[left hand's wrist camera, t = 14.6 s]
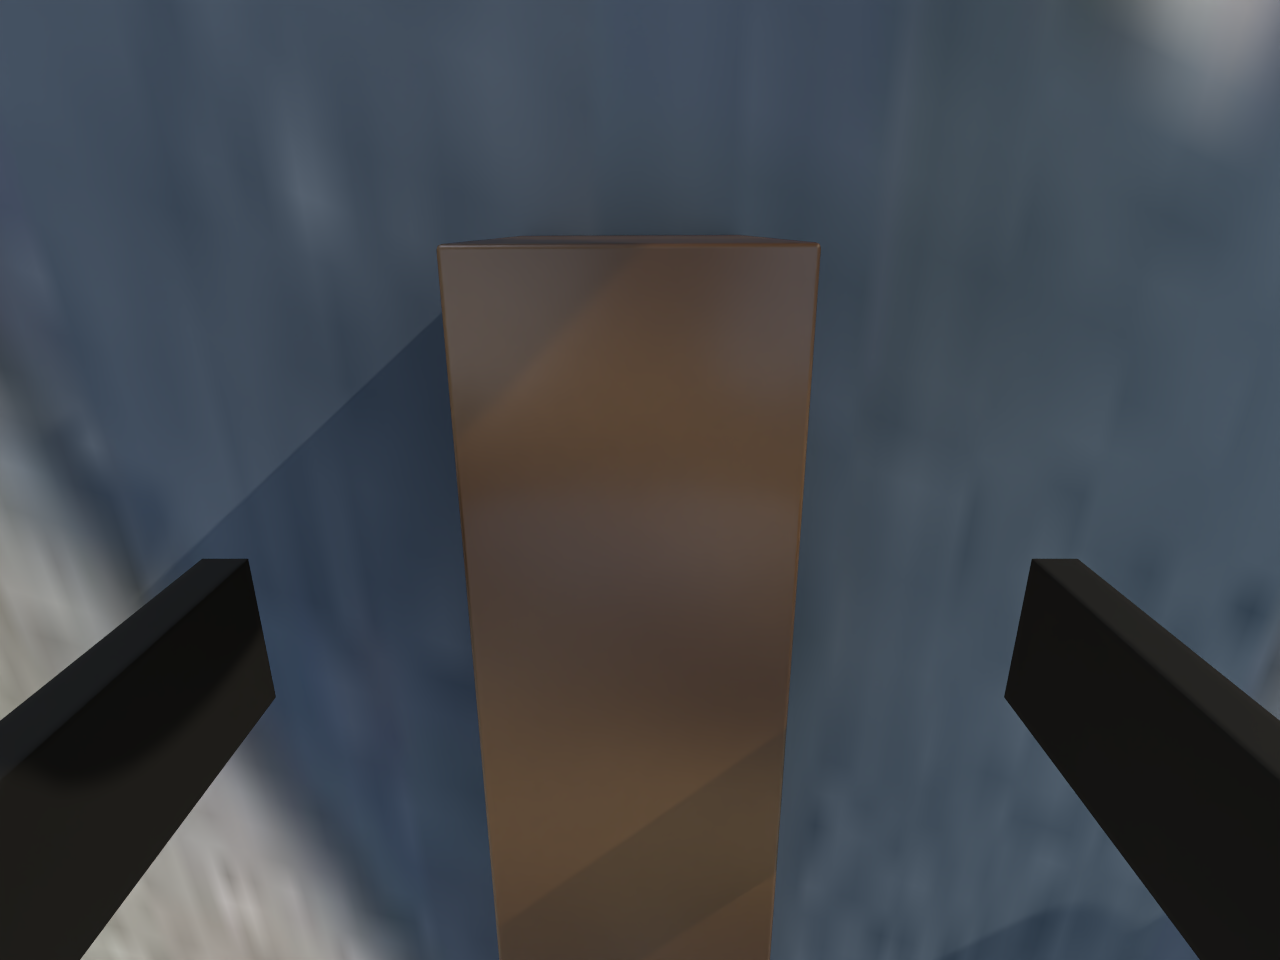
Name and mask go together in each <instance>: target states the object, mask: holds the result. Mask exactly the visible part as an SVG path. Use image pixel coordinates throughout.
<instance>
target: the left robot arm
mask: <svg viewBox="0 0 1280 960" xmlns="http://www.w3.org/2000/svg"><path fill="white" fill-rule="evenodd" d="M275 697H276V696H275V691H274V686H273V681H272V676H271V671H270V666H269V661H268V656H267V651H266V646H265V641H264V636H263V631H262V626H261V621H260V616H259V611H258V606H257V601H256V596H255V591H254V586H253V581H252V576H251V571H250V566H249V561H248V559H202V560H200V561H199V562H198V563H197V564H195V565H194V566H193V567H192V568H190V569H189V570H188V571H187V572H185V573H184V574H183V575H182V576H180V577H179V578H178V579H177V580H175V581H174V582H173V583H172V584H170V585H169V586H168V587H167V588H165V589H164V590H163V591H162V592H160V593H159V594H158V595H157V596H155V597H154V598H153V599H152V600H150V601H149V602H148V603H147V604H145V605H144V606H143V607H142V608H140V609H139V610H138V611H137V612H135V613H134V614H133V615H132V616H130V617H129V618H128V619H127V620H125V621H124V622H123V623H122V624H120V625H119V626H118V627H117V628H115V629H114V630H113V631H112V632H110V633H109V634H108V635H107V636H105V637H104V638H103V639H102V640H100V641H99V642H98V643H97V644H95V645H94V646H93V647H92V648H90V649H89V650H88V651H87V652H86V653H84V654H83V655H82V656H81V657H79V658H78V659H77V660H76V661H74V662H73V663H72V664H71V665H69V666H68V667H67V668H66V669H64V670H63V671H62V672H61V673H59V674H58V675H57V676H56V677H54V678H53V679H52V680H51V681H49V682H48V683H47V684H46V685H44V686H43V687H42V688H41V689H39V690H38V691H37V692H36V693H34V694H33V695H32V696H31V697H29V698H28V699H27V700H26V701H24V702H23V703H22V704H21V705H19V706H18V707H17V708H16V709H14V710H13V711H12V712H11V713H9V714H8V715H7V716H6V717H4V718H3V719H2V720H1V721H0V960H80V959H81V958H82V956H83V955H84V954H85V952H86V951H87V950H88V948H89V947H90V946H91V944H92V943H93V942H94V940H95V939H96V938H97V936H98V935H99V934H100V932H101V931H102V930H103V928H104V927H105V926H106V924H107V923H108V922H109V920H110V919H111V918H112V916H113V915H114V913H115V912H116V911H117V909H118V908H119V907H120V905H121V904H122V903H123V901H124V900H125V899H126V897H127V896H128V895H129V893H130V892H131V891H132V889H133V888H134V887H135V885H136V884H137V883H138V881H139V880H140V879H141V877H142V876H143V875H144V873H145V872H146V871H147V869H148V868H149V867H150V865H151V864H152V862H153V861H154V860H155V858H156V857H157V856H158V854H159V853H160V852H161V850H162V849H163V848H164V846H165V845H166V844H167V842H168V841H169V840H170V838H171V837H172V836H173V834H174V833H175V832H176V830H177V829H178V828H179V826H180V825H181V824H182V822H183V821H184V820H185V818H186V817H187V816H188V814H189V813H190V811H191V810H192V809H193V807H194V806H195V805H196V803H197V802H198V801H199V799H200V798H201V797H202V795H203V794H204V793H205V791H206V790H207V789H208V787H209V786H210V785H211V783H212V782H213V781H214V779H215V778H216V777H217V775H218V774H219V773H220V771H221V770H222V769H223V767H224V766H225V765H226V763H227V762H228V760H229V759H230V758H231V756H232V755H233V754H234V752H235V751H236V750H237V748H238V747H239V746H240V744H241V743H242V742H243V740H244V739H245V738H246V736H247V735H248V734H249V732H250V731H251V730H252V728H253V727H254V726H255V724H256V723H257V722H258V720H259V719H260V718H261V716H262V715H263V714H264V712H265V711H266V709H267V708H268V707H269V705H270V704H271V703H272V701H273V700H274V699H275ZM1004 697H1005V699H1006V700H1007V701H1008V703H1009V704H1010V705H1011V707H1012V708H1013V709H1014V711H1015V712H1016V714H1017V715H1018V716H1019V718H1020V719H1021V720H1022V722H1023V723H1024V724H1025V726H1026V727H1027V728H1028V730H1029V731H1030V732H1031V734H1032V735H1033V736H1034V738H1035V739H1036V740H1037V742H1038V743H1039V744H1040V746H1041V747H1042V748H1043V750H1044V751H1045V752H1046V754H1047V755H1048V756H1049V758H1050V759H1051V760H1052V762H1053V763H1054V765H1055V766H1056V767H1057V769H1058V770H1059V771H1060V773H1061V774H1062V775H1063V777H1064V778H1065V779H1066V781H1067V782H1068V783H1069V785H1070V786H1071V787H1072V789H1073V790H1074V791H1075V793H1076V794H1077V795H1078V797H1079V798H1080V799H1081V801H1082V802H1083V803H1084V805H1085V806H1086V807H1087V809H1088V810H1089V811H1090V813H1091V814H1092V816H1093V817H1094V818H1095V820H1096V821H1097V822H1098V824H1099V825H1100V826H1101V828H1102V829H1103V830H1104V832H1105V833H1106V834H1107V836H1108V837H1109V838H1110V840H1111V841H1112V842H1113V844H1114V845H1115V846H1116V848H1117V849H1118V850H1119V852H1120V853H1121V854H1122V856H1123V857H1124V858H1125V860H1126V861H1127V862H1128V864H1129V865H1130V867H1131V868H1132V869H1133V871H1134V872H1135V873H1136V875H1137V876H1138V877H1139V879H1140V880H1141V881H1142V883H1143V884H1144V885H1145V887H1146V888H1147V889H1148V891H1149V892H1150V893H1151V895H1152V896H1153V897H1154V899H1155V900H1156V901H1157V903H1158V904H1159V905H1160V907H1161V908H1162V909H1163V911H1164V912H1165V913H1166V915H1167V916H1168V918H1169V919H1170V920H1171V922H1172V923H1173V924H1174V926H1175V927H1176V928H1177V930H1178V931H1179V932H1180V934H1181V935H1182V936H1183V938H1184V939H1185V940H1186V942H1187V943H1188V944H1189V946H1190V947H1191V948H1192V950H1193V951H1194V952H1195V954H1196V955H1197V956H1198V958H1199V959H1200V960H1280V721H1279V720H1278V719H1277V718H1276V717H1274V716H1273V715H1272V714H1271V713H1269V712H1268V711H1267V710H1266V709H1264V708H1263V707H1262V706H1261V705H1259V704H1258V703H1257V702H1256V701H1254V700H1253V699H1252V698H1251V697H1249V696H1248V695H1247V694H1246V693H1244V692H1243V691H1242V690H1241V689H1239V688H1238V687H1237V686H1236V685H1234V684H1233V683H1232V682H1231V681H1229V680H1228V679H1227V678H1226V677H1224V676H1223V675H1222V674H1221V673H1219V672H1218V671H1217V670H1216V669H1214V668H1213V667H1212V666H1211V665H1209V664H1208V663H1207V662H1206V661H1204V660H1203V659H1202V658H1201V657H1199V656H1198V655H1197V654H1196V653H1194V652H1193V651H1192V650H1191V649H1190V648H1188V647H1187V646H1186V645H1185V644H1183V643H1182V642H1181V641H1180V640H1178V639H1177V638H1176V637H1175V636H1173V635H1172V634H1171V633H1170V632H1168V631H1167V630H1166V629H1165V628H1163V627H1162V626H1161V625H1160V624H1158V623H1157V622H1156V621H1155V620H1153V619H1152V618H1151V617H1150V616H1148V615H1147V614H1146V613H1145V612H1143V611H1142V610H1141V609H1140V608H1138V607H1137V606H1136V605H1135V604H1133V603H1132V602H1131V601H1130V600H1128V599H1127V598H1126V597H1125V596H1123V595H1122V594H1121V593H1120V592H1118V591H1117V590H1116V589H1115V588H1113V587H1112V586H1111V585H1110V584H1108V583H1107V582H1106V581H1105V580H1103V579H1102V578H1101V577H1100V576H1098V575H1097V574H1096V573H1095V572H1093V571H1092V570H1091V569H1090V568H1088V567H1087V566H1086V565H1085V564H1083V563H1082V562H1081V561H1080V560H1078V559H1032V561H1031V566H1030V571H1029V576H1028V581H1027V586H1026V591H1025V596H1024V601H1023V606H1022V611H1021V616H1020V621H1019V626H1018V631H1017V636H1016V641H1015V646H1014V651H1013V656H1012V661H1011V666H1010V671H1009V676H1008V681H1007V686H1006V691H1005V696H1004Z"/></svg>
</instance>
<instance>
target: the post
mask: <svg viewBox="0 0 1280 960" xmlns="http://www.w3.org/2000/svg"><path fill="white" fill-rule="evenodd" d="M820 253H821V247H820V244H818V243H816V242H805V241H795V240H785V239H774V238H764V237H754V236H743V235H629V236H517V237H507V238H497V239H487V240H478V241H468V242H458V243H448V244H441V245H438V247H437V261H438V272H439V283H440V295H441V306H442V317H443V328H444V340H445V351H446V362H447V374H448V385H449V396H450V407H451V419H452V430H453V441H454V452H455V464H456V475H457V486H458V498H459V509H460V520H461V531H462V543H463V554H464V565H465V577H466V588H467V599H468V610H469V622H470V633H471V644H472V656H473V667H474V678H475V689H476V701H477V712H478V723H479V735H480V746H481V757H482V768H483V780H484V791H485V802H486V814H487V825H488V836H489V847H490V859H491V870H492V881H493V893H494V904H495V915H496V926H497V938H498V949H499V960H770V951H771V937H772V923H773V909H774V895H775V881H776V867H777V853H778V839H779V825H780V811H781V797H782V783H783V769H784V755H785V741H786V727H787V713H788V699H789V685H790V672H791V658H792V644H793V630H794V616H795V602H796V588H797V574H798V560H799V546H800V532H801V518H802V504H803V490H804V476H805V462H806V448H807V434H808V420H809V406H810V392H811V379H812V365H813V351H814V337H815V323H816V309H817V295H818V281H819V267H820Z"/></svg>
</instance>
